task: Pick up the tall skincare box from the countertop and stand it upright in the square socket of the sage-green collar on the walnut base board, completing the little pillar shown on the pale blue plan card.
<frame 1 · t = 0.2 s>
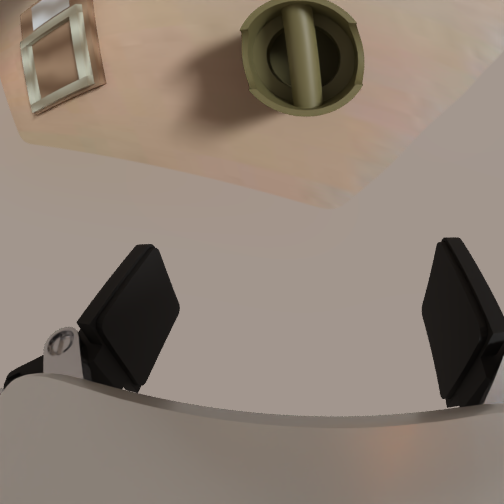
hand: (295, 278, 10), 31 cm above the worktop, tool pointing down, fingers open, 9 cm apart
framed base plate: (59, 43, 32), on the worktop
piston: (305, 58, 31), on the worktop
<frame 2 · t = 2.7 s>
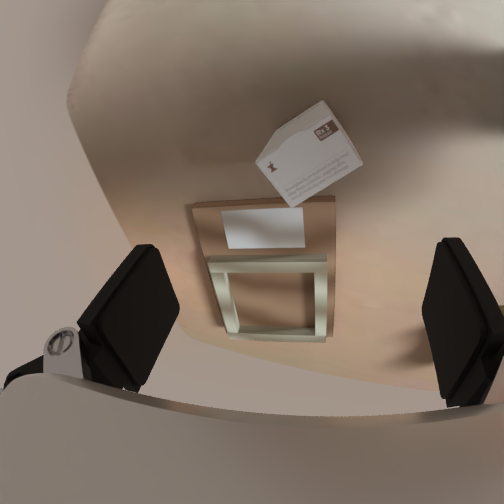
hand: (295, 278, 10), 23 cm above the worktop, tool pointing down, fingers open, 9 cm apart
framed base plate: (272, 273, 39), on the worktop
skincare box: (311, 128, 28), on the worktop
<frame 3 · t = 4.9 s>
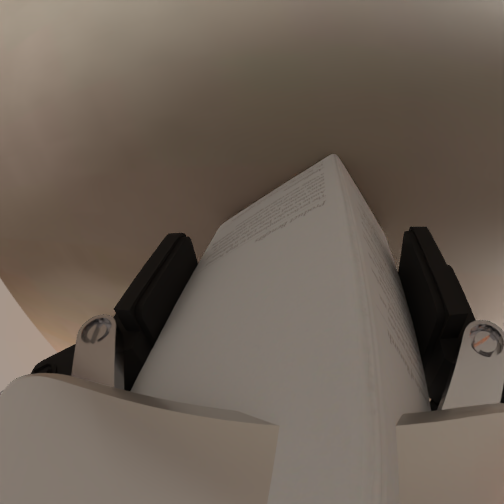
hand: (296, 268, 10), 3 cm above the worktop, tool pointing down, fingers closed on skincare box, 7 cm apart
skincare box: (302, 219, 13), on the worktop, touching gripper
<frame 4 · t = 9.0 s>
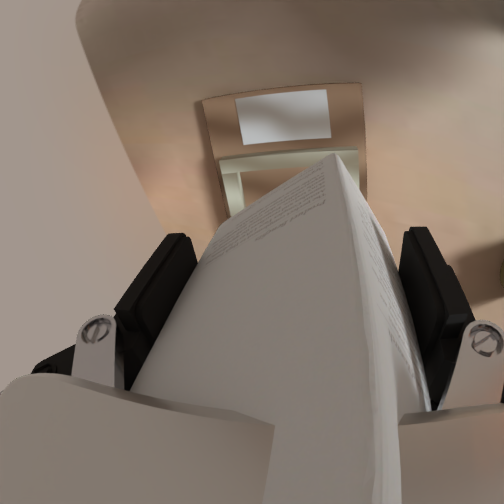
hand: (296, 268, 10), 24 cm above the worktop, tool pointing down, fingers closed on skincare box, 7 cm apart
framed base plate: (293, 180, 33), on the worktop
skincare box: (303, 218, 13), point 21 cm above the worktop, touching gripper
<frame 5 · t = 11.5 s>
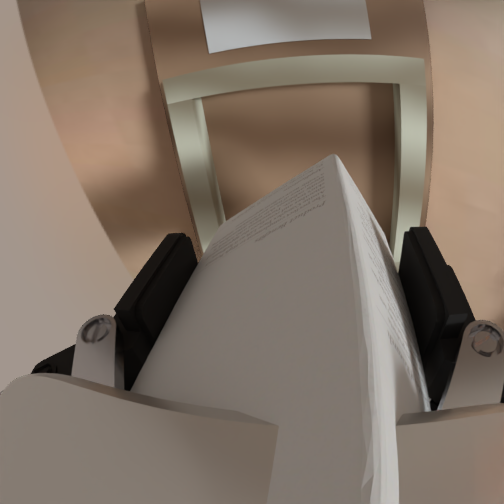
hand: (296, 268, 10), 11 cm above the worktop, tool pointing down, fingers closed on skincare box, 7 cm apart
framed base plate: (301, 121, 17), on the worktop
skincare box: (302, 219, 13), point 7 cm above the worktop, touching gripper
when the fingers open (5 cm above the worktop, at t = 13.5 s): skincare box stays where it is, resting on framed base plate.
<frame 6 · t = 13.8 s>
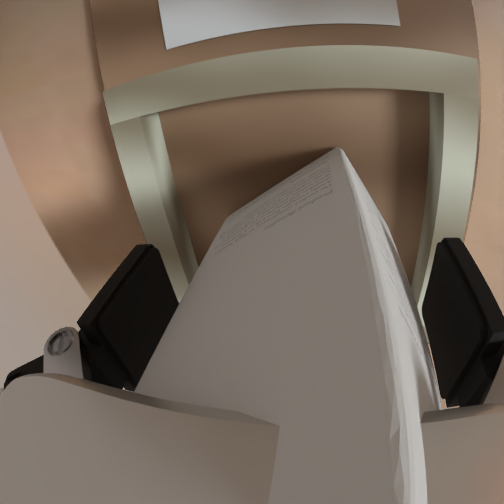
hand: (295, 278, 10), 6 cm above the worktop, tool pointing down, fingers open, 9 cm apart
framed base plate: (298, 141, 13), on the worktop
skincare box: (307, 211, 13), point 1 cm above the worktop, touching framed base plate
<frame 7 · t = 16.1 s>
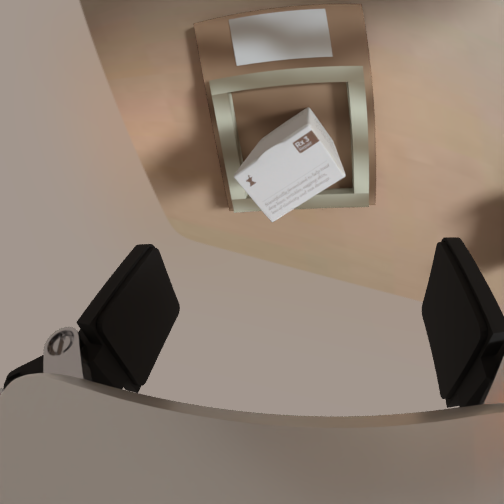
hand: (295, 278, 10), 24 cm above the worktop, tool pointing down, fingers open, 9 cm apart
framed base plate: (292, 107, 28), on the worktop
skincare box: (297, 136, 28), point 1 cm above the worktop, touching framed base plate
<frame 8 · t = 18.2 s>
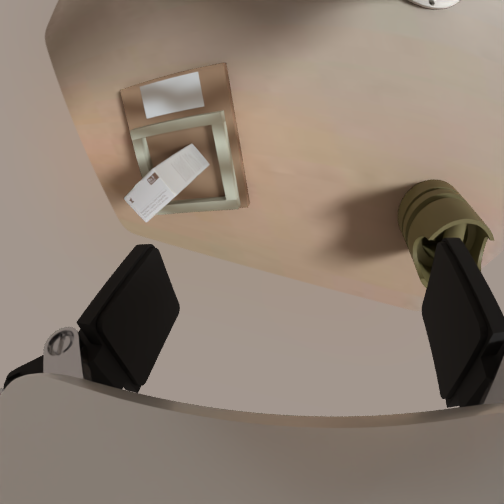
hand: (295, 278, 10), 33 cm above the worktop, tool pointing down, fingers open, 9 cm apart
framed base plate: (185, 142, 42), on the worktop
skincare box: (187, 163, 42), point 1 cm above the worktop, touching framed base plate
piston: (430, 213, 41), on the worktop
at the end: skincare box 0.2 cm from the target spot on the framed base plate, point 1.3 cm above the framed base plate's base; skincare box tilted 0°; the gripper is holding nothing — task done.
